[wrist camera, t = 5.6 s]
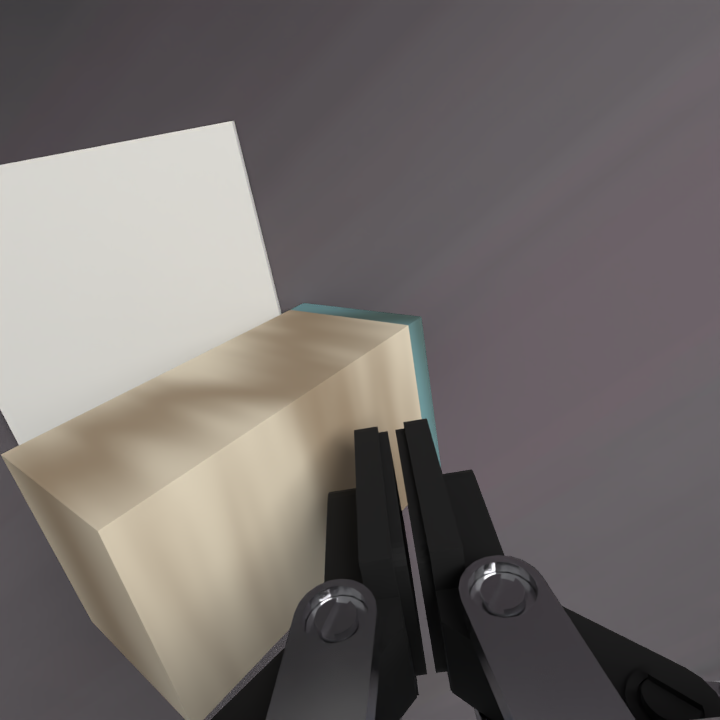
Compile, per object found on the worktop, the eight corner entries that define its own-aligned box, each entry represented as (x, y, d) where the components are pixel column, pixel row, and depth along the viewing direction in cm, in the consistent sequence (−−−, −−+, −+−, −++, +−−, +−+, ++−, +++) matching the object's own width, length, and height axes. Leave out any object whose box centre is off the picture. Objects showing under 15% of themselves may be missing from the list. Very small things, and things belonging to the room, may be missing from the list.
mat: (234, 121, 15) (232, 121, 14) (340, 552, 21) (340, 558, 21) (-108, 186, 15) (-116, 187, 15) (100, 588, 22) (97, 594, 21)
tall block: (421, 316, 14) (97, 531, 8) (441, 469, 16) (194, 729, 10) (303, 303, 17) (1, 454, 11) (333, 434, 19) (91, 621, 13)
